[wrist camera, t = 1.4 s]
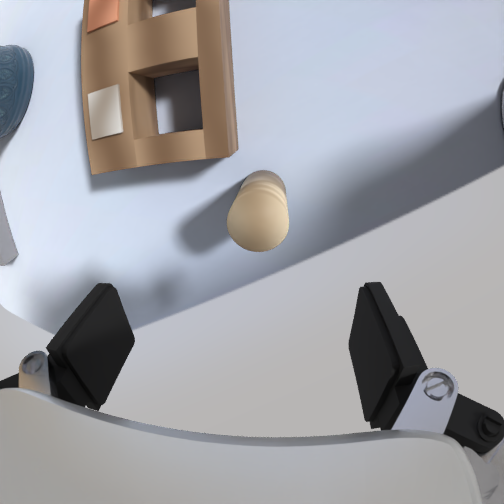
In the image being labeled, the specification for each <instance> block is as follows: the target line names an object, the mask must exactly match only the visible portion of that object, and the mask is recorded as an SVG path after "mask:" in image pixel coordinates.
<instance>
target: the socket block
mask: <svg viewBox="0 0 504 504" xmlns="http://www.w3.org/2000/svg"><path fill="white" fill-rule="evenodd" d="M152 1H153V0H84V8H83V20H82V39H81V79H82V99H83V112H84V122H85V132H86V140H87V147H88V154H89V161H90V167H91V173H92V175H94V174H99V173H105V172H110V171H116V170H122V169H128V168H135V167H141V166H148V165H156V164H163V163H171V162H180V161H190V160H200V159H212V158H225V157H230V156H231V155H232V154H234V153H235V152H236V151H237V150H238V137H237V122H236V107H235V92H234V77H233V62H232V46H231V30H230V13H229V0H196V7H194V8H189V9H184V10H180V11H175V12H171V13H167V14H163V15H159V16H156V17H152ZM193 70H199V80H200V95H201V108H202V121H203V128H202V129H193V130H185V131H178V132H171V133H165V134H159V132H158V122H157V111H156V99H155V85H154V78H157V77H162V76H167V75H172V74H177V73H182V72H188V71H193Z"/></svg>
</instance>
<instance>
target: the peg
mask: <svg viewBox="0 0 504 504" xmlns="http://www.w3.org/2000/svg"><path fill="white" fill-rule="evenodd" d="M227 228H228V232H229V234H230V236H231V237H232V239H233V240H234V241H235V242H236V243H237V244H238V245H239V246H241V247H242V248H244V249H247V250H250V251H254V252H263V251H268V250H271V249H273V248H275V247H276V246H278V245H279V244H280V243H281V242H282V241H283V240H284V238H285V237H286V235H287V232H288V228H289V218H288V208H287V199H286V190H285V185H284V183H283V181H282V180H281V178H280V177H279V176H278V175H276V174H275V173H273V172H270V171H266V170H261V171H256V172H253V173H252V174H250V175H249V176H248V177H247V178H246V179H245V181H244V182H243V184H242V186H241V188H240V190H239V192H238V194H237V196H236V198H235V200H234V202H233V204H232V206H231V208H230V210H229V213H228V216H227Z"/></svg>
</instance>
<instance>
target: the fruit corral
mask: <svg viewBox="0 0 504 504" xmlns="http://www.w3.org/2000/svg"><path fill="white" fill-rule="evenodd" d="M16 256H18V252H17V249H16V246H15V243H14V240H13V237H12V234H11V231H10V227H9V224H8V220H7V217H6V213H5V209H4V205H3V201H2V197H1V192H0V266H5V265H6V264H7V263H9V262H10V261H11V260H12V259H14V258H15V257H16Z"/></svg>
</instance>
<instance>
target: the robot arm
mask: <svg viewBox="0 0 504 504" xmlns="http://www.w3.org/2000/svg"><path fill="white" fill-rule="evenodd" d="M502 119H503V126H504V90H503V96H502ZM134 342H135V338H134V335H133V332H132V330H131V327H130V325H129V322H128V319H127V317H126V314H125V312H124V309H123V306H122V303H121V301H120V298H119V295H118V292H117V290H116V288H114V287H113V285H112V284H109V283H98V284H97V285H96V286H95V287H94V288H93V289H92V291H91V292H90V293H89V294H88V295H87V296H86V298H85V299H84V300H83V301H82V302H81V304H80V305H79V306H78V307H77V308H76V310H75V311H74V312H73V313H72V315H71V316H70V317H69V318H68V319H67V321H66V322H65V323H64V325H63V326H62V327H61V328H60V330H59V331H58V332H57V334H56V335H55V336H54V337H53V339H52V340H51V341H50V343H49V344H48V345H47V347H46V349H47V350H48V352H49V355H48V356H47V355H46V354H45V353H44V352H42V351H34V352H31V353H30V354H28V355H27V356H25V357H24V359H23V360H22V361H21V363H20V366H19V373H18V374H16V375H13V376H11V377H9V378H6V379H4V380H1V381H0V504H504V419H503V417H502V416H501V415H500V414H499V413H498V412H496V411H494V410H492V409H490V408H488V407H486V406H484V405H482V404H480V403H477V402H475V401H473V400H471V399H469V398H467V397H465V396H463V395H461V394H458V383H457V381H456V379H455V377H454V376H453V375H452V374H451V373H450V372H448V371H446V370H444V369H441V368H430V369H428V368H427V366H426V363H425V361H424V359H423V357H422V355H421V352H420V350H419V348H418V346H417V344H416V342H415V340H414V338H413V336H412V334H411V332H410V330H409V328H408V326H407V324H406V322H405V320H404V318H403V317H402V316H398V314H397V312H396V310H395V308H394V306H393V304H392V302H391V300H390V298H389V296H388V294H387V293H386V291H385V289H384V287H383V285H382V284H381V282H371V283H370V282H369V283H365V285H364V287H360V288H359V293H358V299H357V304H356V309H355V315H354V319H353V324H352V329H351V334H350V339H349V351H350V355H351V359H352V363H353V368H354V372H355V376H356V381H357V385H358V390H359V394H360V399H361V404H362V409H363V414H364V418H365V421H366V422H368V421H370V425H371V429H374V428H381V431H373V432H363V433H352V434H343V435H331V436H314V437H278V438H276V437H275V438H274V437H273V438H272V437H271V438H270V437H267V438H266V437H241V436H228V435H216V434H206V433H198V432H190V431H183V430H177V429H171V428H165V427H160V426H154V425H149V424H145V423H140V422H136V421H131V420H127V419H123V418H119V417H115V416H111V415H108V414H104V413H101V412H98V411H99V409H100V407H101V405H103V404H104V403H105V402H106V400H107V397H108V395H109V393H110V391H111V389H112V387H113V385H114V383H115V381H116V379H117V377H118V375H119V373H120V371H121V368H122V367H123V365H124V363H125V361H126V359H127V357H128V355H129V353H130V351H131V349H132V347H133V345H134ZM85 405H86V406H87V407H88V408H90V409H88V408H85ZM91 409H93V410H91ZM94 410H97V411H94Z"/></svg>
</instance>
